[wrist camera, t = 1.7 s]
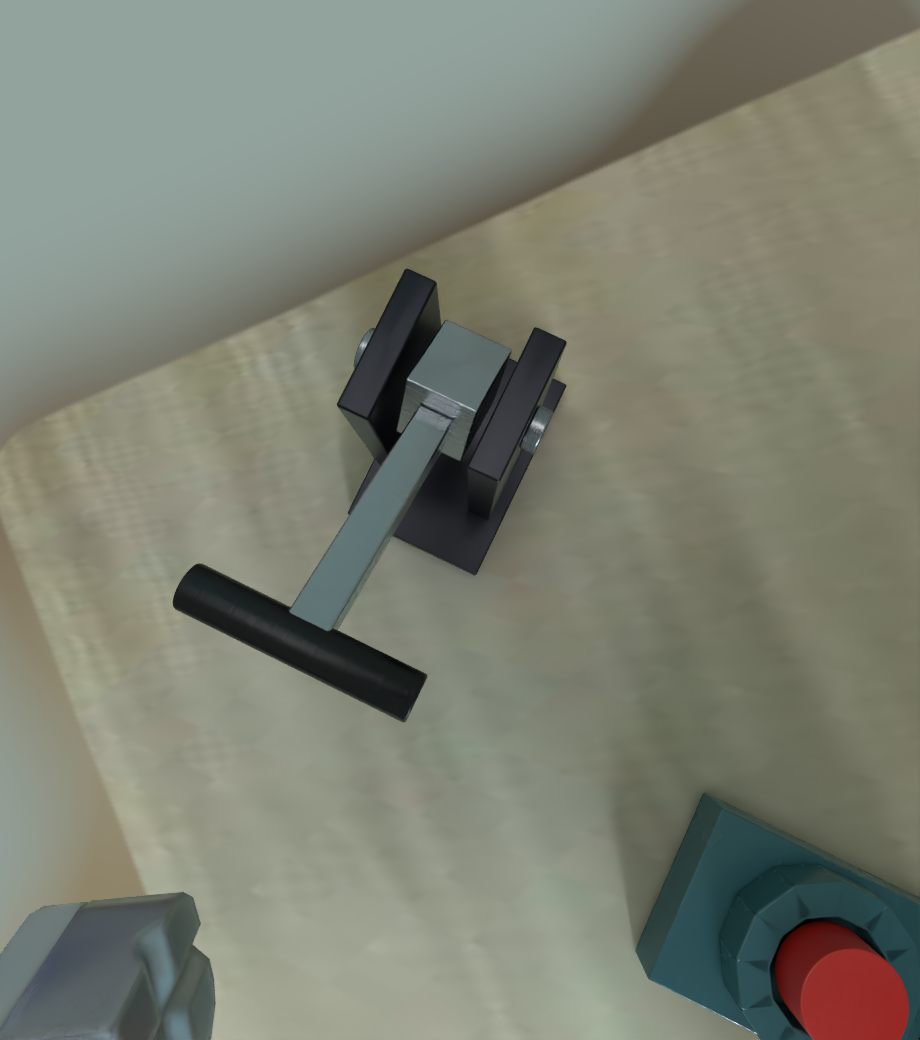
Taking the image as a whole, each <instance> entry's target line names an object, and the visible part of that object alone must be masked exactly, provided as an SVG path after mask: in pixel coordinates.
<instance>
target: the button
mask: <svg viewBox="0 0 920 1040" xmlns="http://www.w3.org/2000/svg"><path fill="white" fill-rule="evenodd" d="M775 978H776V984H777V987H778V991H779V993H780V995H781V997H782V999H783V1001H784V1002H785V1004H786V1005H787V1007H788V1008H789V1009H790V1011H791V1012H792V1013H793V1014H794V1016H795V1017H796V1018H797V1020H798V1021H799V1022H800V1024H801V1025H802V1026H803V1028H804V1029H805V1030H806V1031H807V1033H808V1034H809V1035H810V1037H811V1038H812V1039H813V1040H900V1039H901V1038H902V1036H903V1034H904V1032H905V1029H906V1026H907V1022H908V1017H909V1002H908V997H907V992H906V989H905V986H904V984H903V982H902V980H901V978H900V976H899V975H898V973H897V972H896V971H895V969H894V968H893V967H892V966H891V965H890V964H889V963H888V962H887V961H886V960H885V959H884V958H883V957H881V956H880V955H879V954H878V953H877V952H876V951H875V950H874V949H872V948H871V947H870V946H869V945H868V944H867V943H866V942H865V941H863V940H862V939H861V938H860V937H859V936H858V935H857V934H855V933H854V932H853V931H851V930H850V929H848V928H847V927H845V926H842V925H840V924H837V923H833V922H827V921H817V922H811V923H808V924H805V925H803V926H800V927H799V928H797V929H796V930H794V931H793V932H792V933H791V934H790V935H789V936H788V937H787V938H786V939H785V941H784V942H783V943H782V945H781V947H780V949H779V952H778V955H777V958H776V963H775Z"/></svg>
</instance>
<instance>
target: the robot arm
mask: <svg viewBox="0 0 920 1040" xmlns="http://www.w3.org/2000/svg"><path fill="white" fill-rule="evenodd" d="M200 924H201V923H200V920H199V916H198V913H197V909H196V906H195V902H194V899H193V897H192V896H190V895H188V894H186V893H184V892H179V893H168V894H157V895H147V896H136V897H126V898H116V899H104V900H94V901H91V902H80V903H70V904H60V905H51V906H44V907H42V908H40V909H38V910H36V911H35V912H33V913H31V914H29V916H28V917H27V918H26V920H25V921H24V922H23V924H22V925H21V926H20V928H19V929H18V931H17V932H16V933H15V935H14V936H13V937H12V939H11V940H10V942H9V943H8V944H7V946H6V947H5V948H4V950H3V951H2V953H1V954H0V1040H211V1035H212V1027H213V1019H214V1011H215V987H214V977H213V972H212V968H211V964H210V959H209V958H208V957H206V956H205V955H204V954H203V953H202V952H201V951H199V950H198V949H197V948H196V947H195V946H193V945H192V944H193V941H194V939H195V936H196V934H197V931H198V929H199V926H200Z"/></svg>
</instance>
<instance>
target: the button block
mask: <svg viewBox="0 0 920 1040" xmlns="http://www.w3.org/2000/svg"><path fill="white" fill-rule="evenodd" d="M817 921H827V922H833V923H837V924H840V925H842V926H845V927H847V928H848V929H850V930H851V931H853V932H854V933H855V934H857V935H858V936H859V937H860V938H861V939H862V940H863V941H865V942H866V943H867V944H868V945H869V946H870V947H871V948H872V949H874V950H875V951H876V952H877V953H878V954H879V955H880V956H881V957H883V958H884V959H885V960H886V961H887V962H888V963H889V964H890V965H891V966H892V967H893V968H894V969H895V971H896V972H897V973H898V975H899V976H900V978H901V980H902V982H903V984H904V986H905V989H906V992H907V997H908V1002H909V1017H908V1022H907V1026H906V1029H905V1032H904V1034H903V1036H902V1038H901V1039H900V1040H919V1037H920V898H918V897H916V896H914V895H912V894H910V893H908V892H906V891H904V890H902V889H900V888H898V887H896V886H894V885H892V884H890V883H888V882H886V881H884V880H882V879H880V878H878V877H875V876H873V875H871V874H869V873H867V872H865V871H863V870H861V869H859V868H857V867H855V866H853V865H851V864H849V863H847V862H845V861H843V860H841V859H839V858H837V857H835V856H833V855H831V854H829V853H827V852H824V851H822V850H820V849H818V848H816V847H814V846H812V845H810V844H808V843H806V842H804V841H802V840H800V839H798V838H796V837H794V836H792V835H790V834H788V833H786V832H784V831H782V830H780V829H778V828H776V827H774V826H771V825H769V824H767V823H765V822H763V821H761V820H759V819H757V818H755V817H753V816H751V815H749V814H747V813H745V812H743V811H741V810H739V809H737V808H735V807H733V806H731V805H729V804H727V803H725V802H723V801H720V800H718V799H716V798H714V797H712V796H710V795H708V794H706V793H704V794H703V797H702V799H701V801H700V803H699V806H698V808H697V810H696V813H695V815H694V817H693V819H692V822H691V824H690V826H689V829H688V831H687V833H686V836H685V838H684V840H683V842H682V845H681V847H680V849H679V852H678V854H677V856H676V858H675V861H674V863H673V865H672V868H671V870H670V872H669V874H668V877H667V879H666V881H665V884H664V886H663V888H662V890H661V893H660V895H659V897H658V900H657V902H656V904H655V907H654V909H653V911H652V913H651V916H650V918H649V920H648V923H647V925H646V927H645V929H644V932H643V934H642V936H641V939H640V941H639V943H638V945H637V948H636V953H637V955H638V957H639V960H640V962H641V964H642V966H643V968H644V970H645V973H646V975H647V977H648V979H649V980H651V981H653V982H655V983H657V984H659V985H661V986H663V987H665V988H667V989H669V990H671V991H673V992H675V993H677V994H679V995H681V996H683V997H685V998H687V999H689V1000H691V1001H693V1002H695V1003H697V1004H698V1005H700V1006H702V1007H704V1008H706V1009H708V1010H710V1011H712V1012H714V1013H716V1014H718V1015H720V1016H722V1017H724V1018H726V1019H728V1020H730V1021H732V1022H734V1023H736V1024H738V1025H740V1026H742V1027H744V1028H746V1029H748V1030H750V1031H752V1032H754V1033H756V1034H757V1035H758V1037H759V1038H760V1040H813V1039H812V1038H811V1037H810V1035H809V1034H808V1033H807V1031H806V1030H805V1029H804V1028H803V1026H802V1025H801V1024H800V1022H799V1021H798V1020H797V1018H796V1017H795V1016H794V1014H793V1013H792V1012H791V1011H790V1009H789V1008H788V1007H787V1005H786V1004H785V1002H784V1001H783V999H782V997H781V995H780V993H779V991H778V987H777V984H776V978H775V963H776V958H777V955H778V952H779V949H780V947H781V945H782V943H783V942H784V941H785V939H786V938H787V937H788V936H789V935H790V934H791V933H792V932H793V931H794V930H796V929H797V928H799V927H800V926H803V925H805V924H808V923H811V922H817Z"/></svg>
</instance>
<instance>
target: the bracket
mask: <svg viewBox="0 0 920 1040" xmlns="http://www.w3.org/2000/svg"><path fill="white" fill-rule="evenodd" d="M440 328H441V319H440V310H439V300H438V291H437V283H436V282H435V281H434V280H431V279H429V278H427V277H425V276H423V275H421V274H418V273H416V272H414V271H412V270H410V269H405V270H404V272H403V274H402V276H401V278H400V280H399V282H398V284H397V286H396V288H395V290H394V292H393V294H392V296H391V298H390V300H389V302H388V304H387V306H386V308H385V310H384V312H383V314H382V316H381V318H380V320H379V322H378V324H377V326H376V328H371V329H370V330H369V331H368V332H367V333H366V334H365V336H364V337H363V339H362V341H361V343H360V345H359V347H358V350H357V353H356V356H355V360H354V371H353V373H352V375H351V377H350V379H349V381H348V383H347V385H346V387H345V389H344V391H343V393H342V395H341V397H340V399H339V401H338V403H337V406H338V408H339V409H340V410H341V412H342V413H343V415H344V416H345V417H346V419H347V420H348V422H349V423H350V424H351V426H352V427H353V429H354V430H355V431H356V433H357V434H358V436H359V437H360V438H361V440H362V441H363V443H364V444H365V445H366V447H367V448H368V449H369V451H370V452H371V454H372V455H373V456H374V458H375V459H374V461H373V463H372V465H371V467H370V469H369V471H368V473H367V475H366V477H365V479H364V481H363V483H362V485H361V487H360V489H359V491H358V493H357V495H356V497H355V499H354V501H353V503H352V505H351V507H350V509H349V511H348V514H349V515H350V513H351V512H352V510H353V509H354V507H355V505H356V504H357V502H358V501H359V499H360V498H361V496H362V494H363V493H364V491H365V490H366V488H367V487H368V485H369V483H370V482H371V480H372V479H373V477H374V476H375V474H376V472H377V471H378V469H379V468H380V466H381V465H382V463H383V461H384V460H385V458H386V457H387V455H388V454H389V452H390V450H391V449H392V447H393V446H394V444H395V443H396V441H397V439H398V438H399V436H400V435H401V433H400V432H397V424H398V419H399V414H400V409H401V403H402V398H403V393H404V388H405V383H406V378H407V377H408V375H409V374H410V372H411V371H412V369H413V368H414V366H415V365H416V363H417V362H418V360H419V359H420V357H421V356H422V354H423V353H424V351H425V350H426V348H427V347H428V345H429V344H430V342H431V341H432V340H433V338H434V337H435V335H436V334H437V332H438V331H439V329H440ZM566 343H567V342H566V341H565V340H563V339H561V338H559V337H556V336H554V335H552V334H550V333H548V332H545V331H543V330H541V329H539V328H536V327H535V328H534V329H533V331H532V333H531V335H530V337H529V340H528V342H527V344H526V346H525V348H524V350H523V352H522V354H521V356H520V358H519V360H518V362H516V361H514V360H512V359H510V358H509V360H508V363H507V366H506V369H505V371H504V374H503V377H502V380H501V383H500V385H499V388H498V391H497V394H496V397H495V399H494V402H493V404H492V406H491V407H490V409H489V411H488V413H487V415H486V416H485V418H484V420H483V422H482V424H481V425H480V427H479V429H478V431H477V433H476V435H475V436H474V438H473V440H472V442H471V444H470V445H469V447H468V449H467V451H466V453H465V454H464V456H463V458H462V460H461V461H459V460H457V459H454V458H452V457H450V456H448V455H446V454H444V453H442V452H441V453H440V455H439V457H438V458H437V460H436V462H435V464H434V465H433V467H432V469H431V470H430V472H429V474H428V476H427V477H426V479H425V481H424V483H423V484H422V486H421V488H420V489H419V491H418V493H417V495H416V496H415V498H414V500H413V502H412V503H411V505H410V507H409V508H408V510H407V512H406V514H405V515H404V517H403V519H402V520H401V522H400V524H399V526H398V527H397V529H396V531H395V533H394V534H393V536H394V537H396V538H398V539H400V540H402V541H404V542H406V543H408V544H410V545H412V546H414V547H417V548H419V549H421V550H423V551H425V552H427V553H429V554H431V555H433V556H435V557H437V558H439V559H441V560H444V561H446V562H448V563H450V564H452V565H454V566H456V567H458V568H460V569H462V570H464V571H466V572H468V573H471V574H473V575H476V574H477V572H478V570H479V568H480V566H481V564H482V562H483V560H484V557H485V555H486V553H487V551H488V549H489V547H490V545H491V543H492V541H493V539H494V537H495V534H496V532H497V530H498V528H499V526H500V524H501V522H502V520H503V518H504V516H505V513H506V511H507V509H508V507H509V505H510V503H511V501H512V499H513V497H514V495H515V493H516V490H517V488H518V486H519V484H520V482H521V480H522V478H523V476H524V474H525V472H526V470H527V467H528V465H529V463H530V461H531V459H532V457H533V455H534V453H535V451H536V449H537V447H538V444H539V442H540V440H541V438H542V436H543V434H544V432H545V430H546V428H547V426H548V423H549V421H550V419H551V417H552V415H553V413H554V411H555V409H556V407H557V405H558V403H559V400H560V398H561V396H562V394H563V392H564V390H565V388H566V384H564V383H561V382H559V381H557V380H555V379H553V377H554V374H555V371H556V369H557V366H558V364H559V361H560V359H561V356H562V354H563V351H564V349H565V346H566Z"/></svg>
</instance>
